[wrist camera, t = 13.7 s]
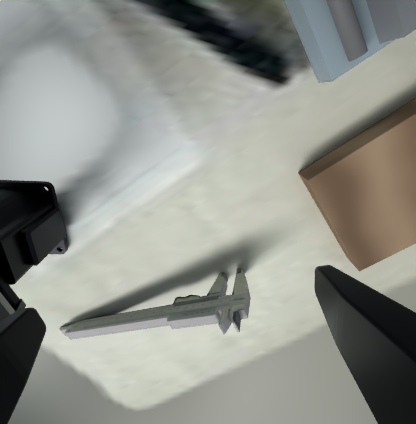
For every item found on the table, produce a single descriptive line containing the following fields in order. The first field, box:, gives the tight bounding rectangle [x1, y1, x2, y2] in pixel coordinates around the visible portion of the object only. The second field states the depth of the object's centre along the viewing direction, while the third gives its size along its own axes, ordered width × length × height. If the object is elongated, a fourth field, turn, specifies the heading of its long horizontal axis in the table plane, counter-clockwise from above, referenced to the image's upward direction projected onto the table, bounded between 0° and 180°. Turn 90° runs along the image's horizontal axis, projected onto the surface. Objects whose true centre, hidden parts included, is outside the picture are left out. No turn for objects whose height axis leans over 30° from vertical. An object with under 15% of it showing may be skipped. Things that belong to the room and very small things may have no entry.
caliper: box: [60, 268, 250, 339], centre depth 23 cm, size 20×1×6 cm, turn 112°
